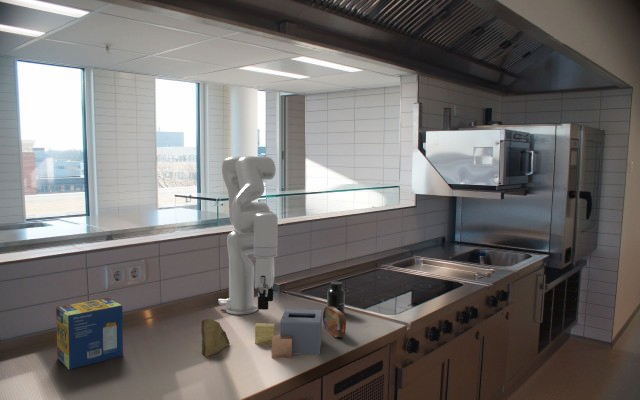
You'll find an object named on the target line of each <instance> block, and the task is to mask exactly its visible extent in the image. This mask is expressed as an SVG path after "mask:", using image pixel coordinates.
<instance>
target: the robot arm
mask: <svg viewBox="0 0 640 400" xmlns="http://www.w3.org/2000/svg"><path fill="white" fill-rule="evenodd" d="M276 169H277V168H276V164H275V161H274V160H273V159H272V157H269V156H254V155H253V156H251V155H250V156H229V157H227V158H225V159H224V160H223V161H222V164H221V172H222V178H223V181H224V183H225V187H226V189H227V194H228V213H229V221H230V224H231V225H232V226H233V227H234V230H233V231H231V232H229V233H228V235H227V236H226V237H227V238H226V246H227V253H228V276H229V277H228V283H229V284H228V298H226V299H225V298H218V304H219V305H220V306H225V307H224V311H225V312H226V313H227V314H231V315H239V316H241V315H242V316H243V315H249V314H253V313H256V312H257V311H258V310H264V311H265V310H269V302H273V301H274V283H275V258H278V257H279V256H278V246H279V245H278V241H279V239H278V235H279V234H278V232H279V230H278V226H279V225H278V224H279V223H278V215H277V214H276V213H274V212H273V211H272V210H270V207H269V205H268V204H267V203H266V202H262V201H259V202H257V201H255V200H258V199H260V198H261V197H262V196H263V194H264V193H265V185H264V181H263V180H272V179H274V177H275V175H276V173H277V172H276V171H277V170H276ZM254 201H255V202H254ZM249 255H253V257H254V258H255V266H254V263H253V261H252V260H251V259H250V258H249V257H248V256H249ZM254 267H255V268H254ZM254 289H255V290H258V292H257V304H255V303H254V302H255V301H254V299H255V298H254V297H255V291H254Z"/></svg>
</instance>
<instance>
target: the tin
mask: <svg viewBox="0 0 640 400" xmlns="http://www.w3.org/2000/svg"><path fill="white" fill-rule="evenodd" d="M322 321H323V323H322V324H323V327H324V329H325V330H326V332H328V334H330V335H332V337H333V338H342V337H344V336H345V334H346V328H347V319H346V316H345V313H344V314H343V313H342V312H341V311H339V310H338V309H336V308H335V307H328V306H327V305H326V306H325V307H324V309H323V311H322Z"/></svg>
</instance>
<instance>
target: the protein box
mask: <svg viewBox="0 0 640 400" xmlns="http://www.w3.org/2000/svg"><path fill="white" fill-rule="evenodd" d="M55 312H56V313H55V315H56V342H57V343H56V351H57V352H56V353H57V359H58V360H59V362H61V364H62V365H64V366H65V367H66V368H67V370H68V371H69V370H72V369H73V370H74V369H77V368H80V367H84V366H88V365H93V364H96V363H99V362H103V361H107V360H111V359H114V358H119V357H122V356H124V329H123V327H124V326H123V325H124V321H123V315H124V314H123V305H122V304H121V303H119V302H117V301H115V300H113V299H111V298H110V297H105V298H100V299H95V300H89V301H84V302H77V303H72V304H66V305H60V306H56V307H55Z"/></svg>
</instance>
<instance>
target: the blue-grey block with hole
mask: <svg viewBox="0 0 640 400" xmlns="http://www.w3.org/2000/svg"><path fill="white" fill-rule="evenodd" d="M322 321H323V310H322V309H291V308H290V309H289V308H285V309H284V311H283V314H282V316H281V319H280V323H279V324H280V325H279V336H293V354H295V355H320V352H321V345H322V334H323V333H322V332H323V331H322V328H323V327H322V326H323V325H322V324H323V323H322Z"/></svg>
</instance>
